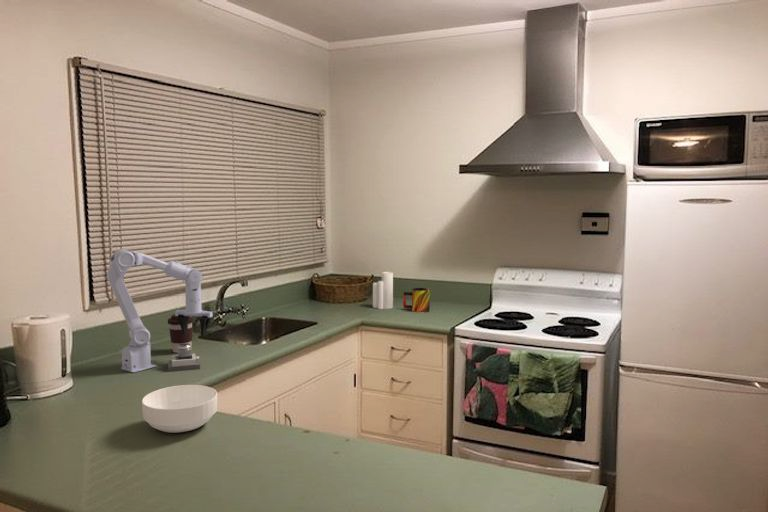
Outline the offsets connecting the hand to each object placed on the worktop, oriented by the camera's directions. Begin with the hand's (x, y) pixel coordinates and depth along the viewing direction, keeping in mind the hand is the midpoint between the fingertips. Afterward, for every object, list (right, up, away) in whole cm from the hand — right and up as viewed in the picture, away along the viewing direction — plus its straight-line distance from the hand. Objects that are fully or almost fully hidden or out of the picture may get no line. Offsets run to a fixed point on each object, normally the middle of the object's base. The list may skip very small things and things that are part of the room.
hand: (194, 334), depth 225 cm
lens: (-1, -9, -7) cm, 12 cm away
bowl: (+17, -17, -62) cm, 67 cm away
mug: (+91, 0, +98) cm, 134 cm away
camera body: (-1, -11, -8) cm, 13 cm away
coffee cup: (-9, -9, +14) cm, 19 cm away
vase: (+72, +1, +106) cm, 128 cm away
